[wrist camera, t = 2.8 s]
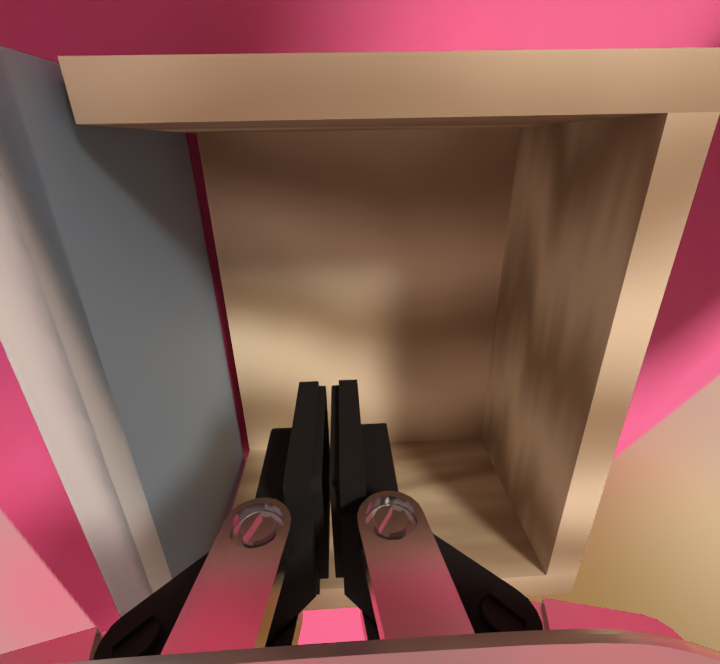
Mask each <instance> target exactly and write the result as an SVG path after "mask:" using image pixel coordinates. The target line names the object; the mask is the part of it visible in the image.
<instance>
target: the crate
mask: <svg viewBox="0 0 720 664" xmlns="http://www.w3.org/2000/svg"><path fill="white" fill-rule="evenodd" d="M57 57H58V60H59V64H60V68H61V71H62V75H63V78H64V82H65V86H66V89H67V93H68V96H69V100H70V104H71V107H72V111H73V114H74V118H75V122H76V124H80V125H93V126H106V127H119V128H132V129H145V130H158V131H171V132H184V133H196V135H197V141H198V147H199V153H200V159H201V164H202V170H203V176H204V182H205V188H206V194H207V200H208V206H209V212H210V218H211V224H212V230H213V235H214V241H215V247H216V253H217V259H218V265H219V271H220V277H221V283H222V289H223V295H224V301H225V306H226V312H227V318H228V324H229V330H230V336H231V342H232V348H233V354H234V360H235V366H236V372H237V377H238V383H239V389H240V395H241V401H242V407H243V413H244V419H245V425H246V431H247V437H248V442H249V448H250V450H249V454H248V457H247V461H246V464H245V468H244V471H243V475H242V478H241V482H240V485H239V488H238V492H237V495H236V499H235V502H234V506H233V509H232V511H233V510H234V509H235V508H236V507H237V506H239V505H241V504H243V503H244V502H246V501H249V500H252V499H255V497H256V492H257V488H258V484H259V480H260V475H261V471H262V467H263V462H264V458H265V454H266V450H267V445H268V441H269V437H270V433H271V430H272V429H273V428H291V427H292V424H293V418H294V411H295V405H296V399H297V393H298V387H299V382H310V381H318V382H319V386H326V394H327V410H328V425H329V441H330V430H331V388H332V385H339V380H355V379H357V383H358V394H359V406H360V418H361V424H375V423H386V424H387V429H388V435H389V440H390V446H391V452H392V457H393V463H394V468H395V474H396V480H397V485H398V491H399V492H401V493H404V494H406V495H408V496H410V497H412V498H413V499H414V500H415V501H416V502H418V504H419V505H420V507H421V508H422V510H423V512H424V514H425V517H426V519H427V521H428V524H429V526H430V528H431V531H432V533H433V534H435V535H436V536H438V537H439V538H441V539H442V540H444V541H445V542H447V543H448V544H450V545H451V546H453V547H454V548H456V549H457V550H459V551H460V552H462V553H463V554H465V555H466V556H468V557H469V558H471V559H472V560H474V561H475V562H477V563H478V564H480V565H481V566H483V567H484V568H486V569H487V570H489V571H490V572H492V573H493V574H495V575H496V576H498V577H499V578H501V579H502V580H504V581H505V582H507V583H508V584H510V585H511V586H513V587H514V588H516V589H517V590H518V591H520V592H521V593H522V594H523V595H524V596H540V595H554V594H570V593H571V592H572V589H573V585H574V582H575V579H576V576H577V573H578V569H579V566H580V563H581V560H582V556H583V553H584V550H585V547H586V543H587V540H588V537H589V534H590V531H591V527H592V524H593V521H594V518H595V514H596V511H597V508H598V505H599V502H600V498H601V495H602V492H603V489H604V485H605V482H606V479H607V476H608V473H609V469H610V466H611V463H612V460H613V456H614V453H615V450H616V447H617V444H618V440H619V437H620V434H621V431H622V427H623V424H624V421H625V418H626V415H627V411H628V408H629V405H630V402H631V398H632V395H633V392H634V389H635V386H636V382H637V379H638V376H639V373H640V369H641V366H642V363H643V360H644V356H645V353H646V350H647V347H648V344H649V340H650V337H651V334H652V331H653V327H654V324H655V321H656V318H657V315H658V311H659V308H660V305H661V302H662V298H663V295H664V292H665V289H666V286H667V282H668V279H669V276H670V273H671V269H672V266H673V263H674V260H675V257H676V253H677V250H678V247H679V244H680V240H681V237H682V234H683V231H684V228H685V224H686V221H687V218H688V215H689V211H690V208H691V205H692V202H693V199H694V195H695V192H696V189H697V186H698V182H699V179H700V176H701V173H702V169H703V166H704V163H705V160H706V157H707V153H708V150H709V147H710V144H711V140H712V137H713V134H714V131H715V128H716V124H717V121H718V118H719V115H720V47H717V48H639V49H562V50H485V51H408V52H330V53H253V54H176V55H99V56H57ZM351 607H357V606H356V605H355V604H354V603H353V602H352V601H351V600H350V599H349V598H348V597H347V596H345V595H344V578H336V576H335V562H334V547H333V532H332V518H331V503H330V541H329V578H328V579H320V595H316V597H315V598H314V599H313V600H312V601H311V602H310V603H309V604H308V605H307V606H306V607H305V608H304V609H303V611H304V610H320V609H335V608H351Z"/></svg>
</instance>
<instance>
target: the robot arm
mask: <svg viewBox="0 0 720 664" xmlns="http://www.w3.org/2000/svg"><path fill="white" fill-rule="evenodd" d="M330 503H331V518H332V532H333V547H334V562H335V576H336V578H344V595H345V596H347V597H348V598H349V599H350V600H351V601H352V602H353V603H354V604H355V605H356V606H357V607H359V608H360V613H361V622H362V627H363V632H364V638H365V641H351V642H336V643H321V644H307V645H298V640H299V635H300V630H301V626H302V620H303V609H304V608H305V607H306V606H307V605H308V604H309V603H310V602H311V601H312V600H313V599H314V598H315V597H316V595H320V579H328V578H329V541H330ZM0 664H720V652H719V651H716V650H713V649H710V648H707V647H704V646H701V645H698V644H695V643H692V642H688V641H685V640H683V639H682V638H681V637H680V636H679V635H678V634H677V633H676V632H675V631H674V630H673V629H671V628H670V627H668V626H667V625H665V624H663V623H662V622H660V621H659V620H657V619H654V618H651V617H648V616H645V615H642V614H636V613H631V612H625V611H618V610H612V609H607V608H601V607H595V606H589V605H583V604H577V603H571V602H565V601H559V600H554V599H548V598H543V600H542V603H538V602H533V601H529V599H528V598H527V597H525V596H524V595H523V594H522V593H521V592H520V591H518V590H517V589H516V588H514V587H513V586H511V585H510V584H508V583H507V582H505V581H504V580H502V579H501V578H499V577H498V576H496V575H495V574H493V573H492V572H490V571H489V570H487V569H486V568H484V567H483V566H481V565H480V564H478V563H477V562H475V561H474V560H472V559H471V558H469V557H468V556H466V555H465V554H463V553H462V552H460V551H459V550H457V549H456V548H454V547H453V546H451V545H450V544H448V543H447V542H445V541H444V540H442V539H441V538H439V537H438V536H436V535H435V534H433V533H432V531H431V528H430V526H429V524H428V521H427V519H426V517H425V514H424V512H423V510H422V508H421V507H420V505H419V504H418V502H416V501H415V500H414V499H413V498H412V497H410V496H408V495H406V494H404V493H401V492H399V491H398V485H397V480H396V474H395V468H394V463H393V457H392V452H391V446H390V440H389V435H388V429H387V424H386V423H375V424H361V418H360V406H359V394H358V383H357V379H355V380H339V385H332V388H331V430H330V441H329V425H328V410H327V394H326V386H319V382H318V381H310V382H299V387H298V393H297V399H296V405H295V411H294V418H293V424H292V427H291V428H273V429H272V430H271V433H270V437H269V441H268V445H267V450H266V454H265V458H264V462H263V467H262V471H261V475H260V480H259V484H258V488H257V492H256V497H255V499H252V500H249V501H246V502H244V503H243V504H241V505H239V506H237V507H236V508H235V509H234V510H233V511H232V512H231V513H229V515H228V516H227V518H226V519H225V521H224V522H223V525H222V527H221V529H220V531H219V533H218V535H217V537H216V539H215V541H214V543H213V545H212V548H211V550H210V551H209V552H208V553H207V554H205V555H204V556H203V557H201V558H200V559H198V560H197V561H196V562H194V563H193V564H192V565H190V566H189V567H188V568H186V569H185V570H184V571H182V572H181V573H180V574H178V575H177V576H176V577H174V578H173V579H172V580H170V581H169V582H168V583H166V584H165V585H163V586H162V587H161V588H159V589H158V590H157V591H155V592H154V593H153V594H151V595H150V596H149V597H147V598H146V599H145V600H143V601H142V602H141V603H139V604H138V605H137V606H135V607H134V608H132V609H131V610H130V611H128V612H127V613H126V614H124V615H123V616H122V617H121V618H120V619H119V620H118V621H116V622H115V623H114V624H113V625H112V626H111V627H110V629H109V630H105V631H102V632H100V631H99V629H98V627H95V628H91V629H88V630H84V631H81V632H77V633H74V634H70V635H67V636H63V637H60V638H56V639H53V640H49V641H46V642H43V643H40V644H36V645H32V646H29V647H25V648H22V649H18V650H15V651H11V652H8V653H4V654H1V655H0Z"/></svg>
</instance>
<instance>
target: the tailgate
mask: <svg viewBox="0 0 720 664" xmlns="http://www.w3.org/2000/svg"><path fill="white" fill-rule="evenodd" d="M0 341H1V343H2V345H3V348H4V350H5V352H6V354H7V357H8V359H9V361H10V364H11V366H12V368H13V371H14V373H15V375H16V378H17V380H18V382H19V384H20V387H21V389H22V391H23V394H24V396H25V398H26V401H27V403H28V405H29V408H30V410H31V412H32V414H33V417H34V419H35V421H36V424H37V426H38V428H39V431H40V433H41V435H42V438H43V440H44V442H45V444H46V447H47V449H48V451H49V454H50V456H51V458H52V461H53V463H54V465H55V468H56V470H57V472H58V474H59V477H60V479H61V481H62V484H63V486H64V488H65V491H66V493H67V495H68V497H69V500H70V502H71V504H72V507H73V509H74V511H75V514H76V516H77V518H78V521H79V523H80V525H81V527H82V530H83V532H84V534H85V537H86V539H87V541H88V544H89V546H90V548H91V551H92V553H93V555H94V557H95V560H96V562H97V564H98V567H99V569H100V571H101V574H102V576H103V578H104V581H105V583H106V585H107V587H108V590H109V592H110V594H111V597H112V599H113V601H114V604H115V606H116V608H117V611H118V613H119V615H120V617H122V616H123V615H124V614H126V613H127V612H128V611H130V610H131V609H132V608H134V607H135V606H137V605H138V604H139V603H141V602H142V601H143V600H145V599H146V598H147V597H149V596H150V595H151V594H153V593H154V592H155V591H157V590H158V589H159V588H161V587H162V586H163V585H165V584H166V583H168V582H169V581H170V580H172V579H173V578H174V577H176V576H177V575H178V574H180V573H181V572H182V571H184V570H185V569H186V568H188V567H189V566H190V565H192V564H193V563H194V562H196V561H197V560H198V559H200V558H201V557H203V556H204V555H205V554H207V553H208V552H209V551H210V550H211V548H212V545H213V543H214V541H215V539H216V537H217V535H218V533H219V531H220V529H221V527H222V525H223V522H224V521H225V519H226V518H227V516H228V515H229V513H231V512H232V509H233V506H234V502H235V499H236V495H237V492H238V488H239V485H240V482H241V478H242V475H243V471H244V468H245V459H244V453H243V448H242V442H241V436H240V431H239V425H238V420H237V414H236V408H235V403H234V397H233V392H232V386H231V380H230V375H229V369H228V363H227V358H226V352H225V347H224V341H223V335H222V330H221V324H220V318H219V313H218V307H217V302H216V296H215V290H214V285H213V279H212V274H211V268H210V262H209V257H208V251H207V245H206V240H205V234H204V229H203V223H202V217H201V212H200V206H199V201H198V195H197V189H196V184H195V178H194V172H193V167H192V161H191V156H190V150H189V144H188V139H187V133H184V132H171V131H158V130H145V129H132V128H119V127H106V126H93V125H80V124H76V122H75V118H74V114H73V111H72V107H71V104H70V100H69V96H68V93H67V89H66V86H65V82H64V78H63V75H62V71H61V68H60V64H59V63H58V62H54V61H51V60H47V59H44V58H41V57H37V56H34V55H30V54H27V53H23V52H20V51H17V50H13V49H10V48H6V47H3V46H0Z"/></svg>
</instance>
